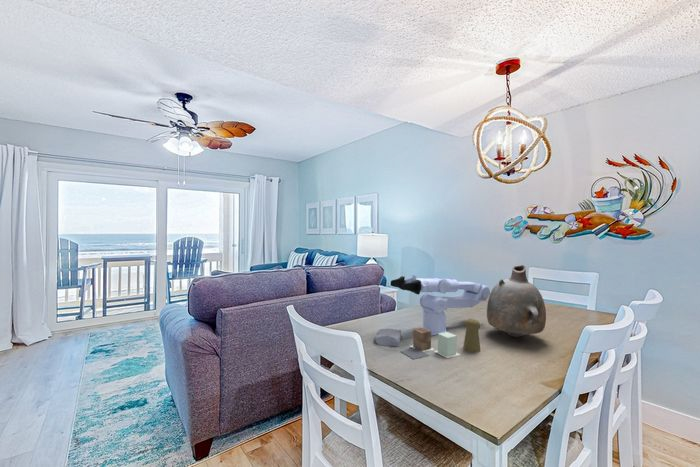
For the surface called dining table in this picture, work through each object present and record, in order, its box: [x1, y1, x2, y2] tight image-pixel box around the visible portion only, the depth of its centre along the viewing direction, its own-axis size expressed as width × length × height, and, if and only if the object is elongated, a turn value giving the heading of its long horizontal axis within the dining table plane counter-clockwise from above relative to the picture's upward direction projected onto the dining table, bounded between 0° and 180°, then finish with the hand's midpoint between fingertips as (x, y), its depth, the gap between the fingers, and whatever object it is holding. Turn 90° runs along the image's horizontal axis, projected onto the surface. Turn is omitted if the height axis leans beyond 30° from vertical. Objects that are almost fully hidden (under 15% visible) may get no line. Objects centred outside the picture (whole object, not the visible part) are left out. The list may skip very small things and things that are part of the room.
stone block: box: [374, 327, 402, 347], centre depth 120 cm, size 12×5×10 cm
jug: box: [486, 264, 547, 338], centre depth 126 cm, size 24×21×30 cm
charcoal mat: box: [400, 348, 430, 361], centre depth 108 cm, size 7×7×1 cm
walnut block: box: [412, 327, 432, 351], centre depth 113 cm, size 4×4×6 cm
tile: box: [433, 349, 461, 359], centre depth 109 cm, size 6×6×1 cm
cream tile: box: [409, 345, 435, 353], centre depth 113 cm, size 6×6×1 cm
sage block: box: [437, 331, 458, 356], centre depth 109 cm, size 4×4×6 cm
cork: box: [462, 318, 481, 353], centre depth 113 cm, size 6×6×11 cm
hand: (396, 284), depth 122 cm, fingers open, 7 cm apart
